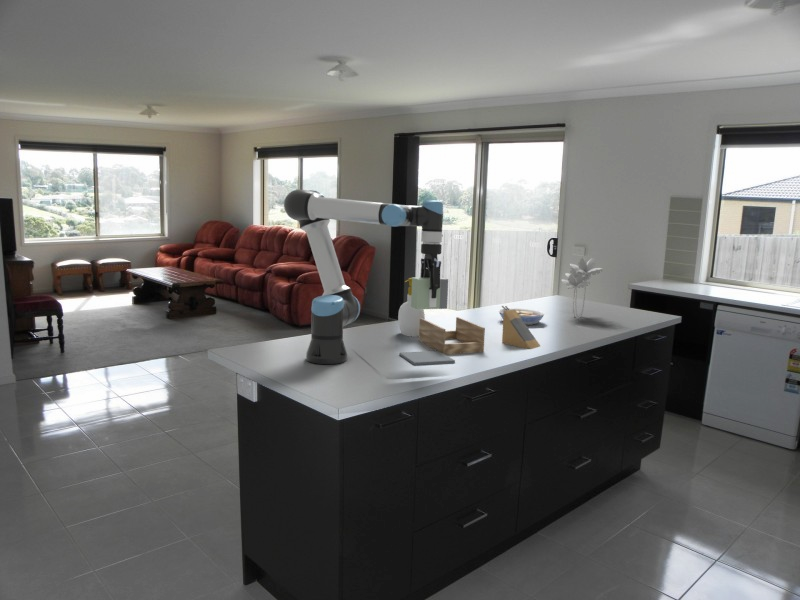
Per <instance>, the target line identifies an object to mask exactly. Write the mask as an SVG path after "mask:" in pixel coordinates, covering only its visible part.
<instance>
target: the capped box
mask: <svg viewBox="0 0 800 600" xmlns="http://www.w3.org/2000/svg"><path fill="white" fill-rule="evenodd" d="M411 278H412V294H411V307H412V308H415V309H423V310H447V309H448V296H449V295H448V294H449V293H448V292H449V279H448V278H444V277H441V276H440V288H438V289H437V301H436V307H429V288H431V287H430V278H420V277H411Z"/></svg>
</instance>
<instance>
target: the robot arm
mask: <svg viewBox="0 0 800 600" xmlns="http://www.w3.org/2000/svg"><path fill="white" fill-rule="evenodd" d="M283 208H284V212H285V213H286V215H287V216H288V217H289V218H291V219H292V220H294V221H298V224H299V225H300V229H301V230H302V231H304V232H305V233H306V236H307V239H308V243H309V247H310V248H311V249H310V250H311V252H312V255H313V259H314V261H315V266H316V268H317V272H318V275H319V278H320V282H321V284H322V285H321V286H322V288H323V293H322V295H319V296H316V297H315V298H313V299H312V301H311V307H310V308H311V309H310V311H311V321H310V322H311V325H310V327H311V337H310V338H311V339H310V342H309V345H308V347H307V351H306V357H305V360H306V361H307V362H309V363H312V364H319V365H334V364H335V365H336V364H337V365H338V364H342V363H345V362H347V361H348V353H347V349H346V346H345V343H344V342H345V341H344V327H345V326H348V325H350V324H352V323H353V322H354V321H356V320H357V318H358V317H359V315H360V312H361V305H360V301H359V300H358V298H356V296H354V295H353V292H352V289H351V287H349V286H347V285H346V283H345V280H344V276H343V273H342V270H341V266H340V263H339V259H338V256H337V253H336V250H335V246H334V244H333V240H332V236H331V234H330V231H329V227H328V226H329V224H330V222H331V220H335V221H345V222H354V223H355V222H356V223H364V224H373V225H374V224H375V225H381V226H382V225H383V226H389V227H394V228H395V227H421V233H420V234H421V237H420V239H421V240H420V242H421V244H420V253H421V254H422V255H424V257H423V258H420V277H419V278H430V287H431V288H429V307H436V301H437V289H438V288H440V277H441V266H442V261H441V260H438V255H441V254H442V248H443V247H442V244H441V243H442V242H443V236H444V235H443V221H444V203H443V201H440V200H423V202H422V205H409V204H408V205H407V204H406V205H405V204H397V203H384V202H376V201H375V202H374V201H366V200H365V201H364V200H354V199H344V198H336V197H335V198H334V197H326V196H325V195H324V194H322V193H321V192H319V191H317V190H314V189H312V190H309V189H308V190H307V189H295V190H292V191H290V192H289V193H287V195H286V196H285V199H284V201H283Z"/></svg>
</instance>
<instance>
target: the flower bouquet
mask: <svg viewBox="0 0 800 600" xmlns="http://www.w3.org/2000/svg"><path fill="white" fill-rule="evenodd" d="M595 262H596V260H595V258H594V257H591V258H590V259H589V260H588V261H587V262H586V260H585V258H584V257H583V256H582V257H581V258H580V259H579V261H578V262H577V263H578V265H577V264H575V263H574V264H573V263H569V266H570V267H571V268H570V272H566V273H565V274H564V275H565V276H566V277H567V279H563V278H562V279H560V280H561V282H562V283H563V284H564V285H566V286H567V287H566V289H568V290H569V289H573V298H572V299H573V301H572V314H573V318H576V316H577V315H578V311H577V295H578V289H580V288H584V291H583V293H584V294H583V301H582V308H581V313H580V315H579V317H580V318H582V316H583V313H584V307H585V301H586V287H588V286H589V285H590V283H591V281H587V280H590V278H592V276H595V275H599V274H600V273H601V272H603V271H604V268H602V267H596V268H595V266H596V263H595Z"/></svg>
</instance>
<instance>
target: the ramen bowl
mask: <svg viewBox="0 0 800 600" xmlns="http://www.w3.org/2000/svg"><path fill="white" fill-rule="evenodd" d="M513 309H515V310H516V312H517V313H518V315H519V316H520V317H521V319H522V320H523V322H524V323H525V325H526V326H531V325H532V326H533V324H534V325H536V324H538V323H539V322H540V321H541V320H542V319H543V318H544V315H545V312H544V311H540V310H536V309H530V308H529V309H528V308H517V307H516V308H513V307H511V308H509V307H508V306H507V305H505V306H504V305H501V309H498V312H499V316H500V317H501V318H502V319H503V315H504V311H506V310H513Z"/></svg>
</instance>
